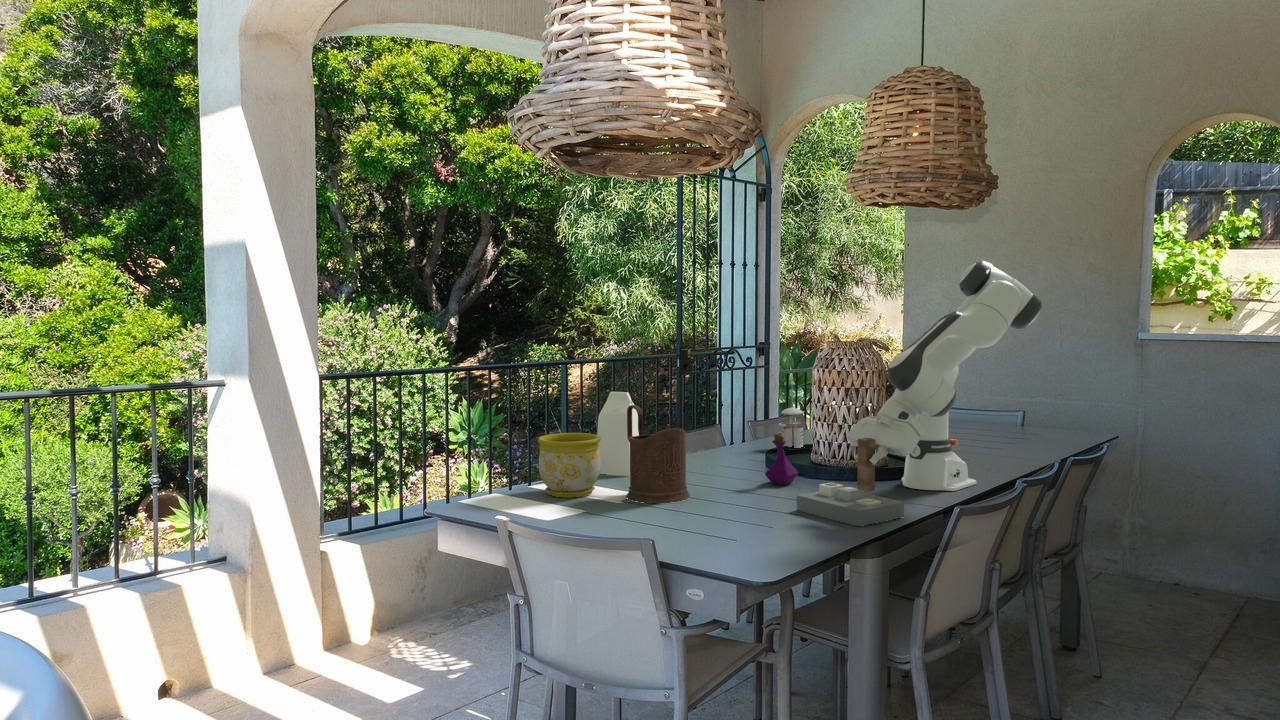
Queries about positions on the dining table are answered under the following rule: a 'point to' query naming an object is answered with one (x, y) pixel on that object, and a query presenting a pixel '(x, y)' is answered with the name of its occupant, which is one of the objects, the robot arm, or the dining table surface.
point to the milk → (616, 434)
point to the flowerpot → (569, 463)
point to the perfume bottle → (781, 463)
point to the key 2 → (868, 502)
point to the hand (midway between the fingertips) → (864, 461)
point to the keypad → (850, 508)
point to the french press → (792, 427)
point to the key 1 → (829, 489)
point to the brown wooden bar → (865, 465)
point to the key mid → (849, 494)
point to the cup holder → (656, 463)
